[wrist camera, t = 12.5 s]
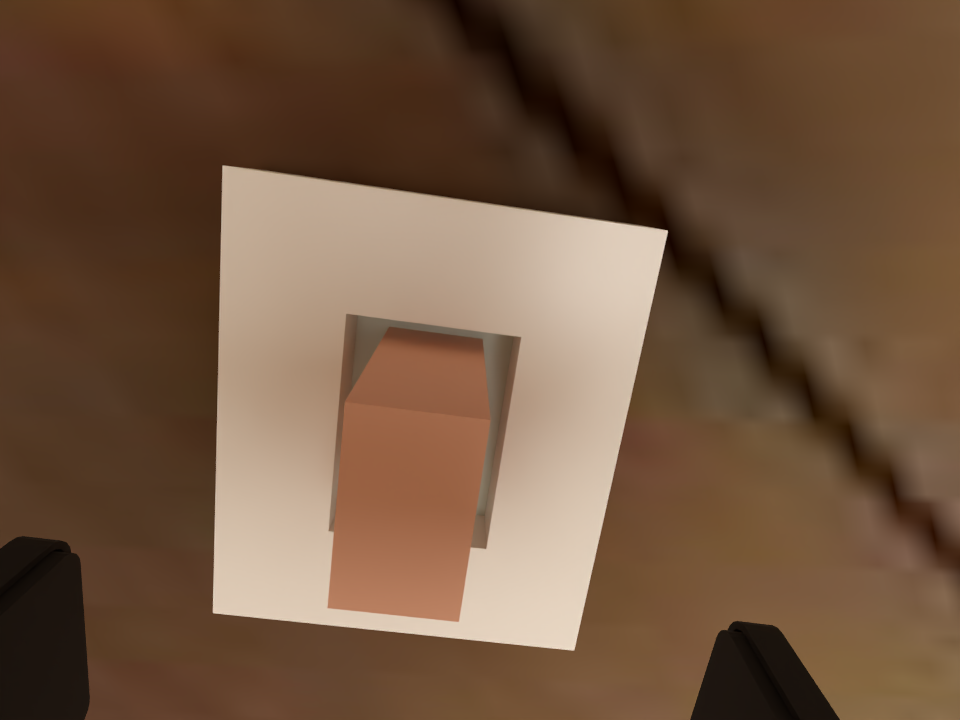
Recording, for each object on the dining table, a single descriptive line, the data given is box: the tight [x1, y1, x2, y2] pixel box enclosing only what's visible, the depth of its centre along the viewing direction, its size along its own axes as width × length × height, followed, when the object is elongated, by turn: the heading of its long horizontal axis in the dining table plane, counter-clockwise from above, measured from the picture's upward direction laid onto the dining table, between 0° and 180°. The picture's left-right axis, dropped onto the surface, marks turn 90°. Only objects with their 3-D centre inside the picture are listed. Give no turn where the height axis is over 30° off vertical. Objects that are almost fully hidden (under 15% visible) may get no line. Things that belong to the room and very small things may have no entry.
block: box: [327, 326, 491, 622], centre depth 16 cm, size 5×3×7 cm, turn 172°
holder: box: [213, 166, 668, 650], centre depth 19 cm, size 14×12×3 cm
